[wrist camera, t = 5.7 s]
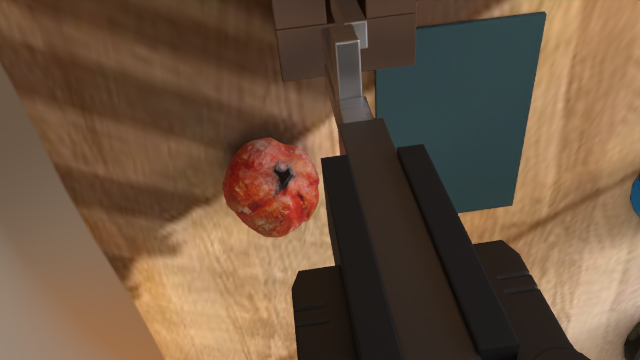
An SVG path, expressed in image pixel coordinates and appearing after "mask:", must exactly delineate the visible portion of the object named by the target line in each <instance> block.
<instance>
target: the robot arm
mask: <svg viewBox="0 0 640 360" xmlns="http://www.w3.org/2000/svg"><path fill="white" fill-rule="evenodd" d="M397 155H398V157H399V159H400V162H401V164H402V167H403V169H404V172H405V174H406V177H407V179H408V182H409V184H410V187H411V189H412V192H413V194H414V197H415V199H416V202H417V204H418V207H419V209H420V212H421V214H422V217H423V219H424V221H425V224H426V226H427V229H428V231H429V234H430V236H431V239H432V241H433V244H434V246H435V249H436V251H437V254H438V256H439V259H440V261H441V264H442V266H443V269H444V271H445V274H446V276H447V279H448V281H449V283H450V286H451V288H452V291H453V293H454V296H455V298H456V301H457V303H458V306H459V308H460V311H461V313H462V316H463V318H464V321H465V323H466V326H467V328H468V331H469V333H470V336H471V338H472V341H473V343H474V345H475V348H476V350H477V353H478V355H480V357H481V360H590V359H589V358H588V357H586V356H585V355H583V354H582V353H580V352H578V351H577V350H576V349H575V348H574V347H573V345H572V344H571V343H570V341H569V340H568V338H567V336H566V335H565V333H564V331H563V329H562V328H561V326H560V324H559V322H558V321H557V319H556V317H555V315H554V314H553V312H552V310H551V308H550V307H549V305H548V303H547V302H546V300H545V298H544V296H543V295H542V293H541V291H540V289H538V288H537V284H536V282H535V281H534V279H533V277H532V275H530V274H529V270H528V268H527V267H526V265H525V263H524V261H523V260H522V258H521V256H520V254H519V253H517V252H516V251H515V250H514V249H512V248H511V247H510V246H509V245H508V244H506V243H505V242H504V241H503V240H498V241H491V242H484V243H478V244H472V242H471V240H470V238H469V236H468V234H467V232H466V230H465V228H464V226H463V224H462V222H461V220H460V218H459V216H458V214H457V211H456V209H455V207H454V205H453V203H452V201H451V199H450V197H449V195H448V193H447V191H446V189H445V187H444V185H443V183H442V181H441V179H440V176H439V174H438V172H437V170H436V168H435V166H434V164H433V162H432V160H431V158H430V156H429V154H428V152H427V150H426V148H425V146H424V144H418V145H411V146H404V147H397ZM321 165H322V174H323V183H324V192H325V200H326V209H327V218H328V227H329V234H330V239H331V245H332V250H333V256H334V261H335V266H330V267H323V268H316V269H309V270H302V271H298V274H297V276H296V279H295V281H294V284H293V286H292V300H293V310H294V323H295V334H296V345H297V356H298V360H404V359H403V355H402V351H401V348H400V344H399V340H398V337H397V333H396V329H395V326H394V322H393V318H392V315H391V311H390V307H389V304H388V300H387V296H386V293H385V289H384V285H383V282H382V278H381V274H380V271H379V267H378V263H377V259H376V256H375V252H374V248H373V245H372V241H371V237H370V234H369V230H368V226H367V223H366V219H365V215H364V212H363V208H362V204H361V201H360V197H359V193H358V190H357V186H356V182H355V179H354V175H353V171H352V168H351V164H350V160H349V157H348V154H347V155H340V156H333V157H326V158H321Z"/></svg>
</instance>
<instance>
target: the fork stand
mask: <svg viewBox="0 0 640 360" xmlns="http://www.w3.org/2000/svg"><path fill="white" fill-rule="evenodd" d="M356 1H357V3H358V5H359V7H360V9H361V11H362V13H363V15H364V17H365V19H366V21H367V38H368V47H367V48H363V49H360V55H361V72H363V71H371V70H379V69H387V68H394V67H402V66H410V65H415V57H416V19H417V13H416V11H417V0H356ZM271 3H272V10H273V17H274V24H275V31H276V38H277V46H278V53H279V60H280V67H281V74H282V81H283V82H286V81H293V80H301V79H309V78H317V77H324V76H325V70H324V65H325V64H327V63H326V60H325V56H324V52H323V49H322V38H321V29H322V28H328V27H331V26H337V25H336V23H335V20H334V17H333V14H332V12H331V3H330V0H271Z"/></svg>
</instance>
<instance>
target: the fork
mask: <svg viewBox="0 0 640 360" xmlns="http://www.w3.org/2000/svg"><path fill="white" fill-rule="evenodd" d="M330 3H331V12H332V14H333V17H334V20H335V23H336V25H337V26H331V27H328V28H322V29H321V38H322V49H323V52H324V56H325V60H326V63H327V64H325V65H324V70H325V80H326V86H327V90H328V94H329V97H330V101H331V105H332V109H333V113H334V116H335V120H336V124H337V128H338V135H339V147H340V155H347V154H348V157H349V160H350V164H351V168H352V171H353V175H354V179H355V182H356V186H357V190H358V193H359V197H360V201H361V204H362V208H363V212H364V215H365V219H366V223H367V226H368V230H369V234H370V237H371V241H372V245H373V248H374V252H375V256H376V259H377V263H378V267H379V271H380V274H381V278H382V282H383V285H384V289H385V293H386V296H387V300H388V304H389V307H390V311H391V315H392V318H393V322H394V326H395V329H396V333H397V337H398V340H399V344H400V348H401V351H402V355H403V359H404V360H481V357H480V355H478V353H477V350H476V348H475V345H474V343H473V341H472V338H471V336H470V333H469V331H468V328H467V326H466V323H465V321H464V318H463V316H462V313H461V311H460V308H459V306H458V303H457V301H456V298H455V296H454V293H453V291H452V288H451V286H450V283H449V281H448V279H447V276H446V274H445V271H444V269H443V266H442V264H441V261H440V259H439V256H438V254H437V251H436V249H435V246H434V244H433V241H432V239H431V236H430V234H429V231H428V229H427V226H426V224H425V221H424V219H423V217H422V214H421V212H420V209H419V207H418V204H417V202H416V199H415V197H414V194H413V192H412V189H411V187H410V184H409V182H408V179H407V177H406V174H405V172H404V169H403V167H402V164H401V162H400V159H399V157H398V155H397V150H396V148H395V145H394V143H393V141H392V138H391V136H390V133H389V131H388V128H387V126H386V123H385V121H384V119H383V118H378V119H374V117H373V115H372V112H371V109H370V107H369V104H368V101H367V99H366V97H363V96H362V75H361V55H360V49H363V48H367V47H368V38H367V21H366V19H365V17H364V15H363V13H362V11H361V9H360V7H359V5H358V3H357V1H356V0H330Z"/></svg>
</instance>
